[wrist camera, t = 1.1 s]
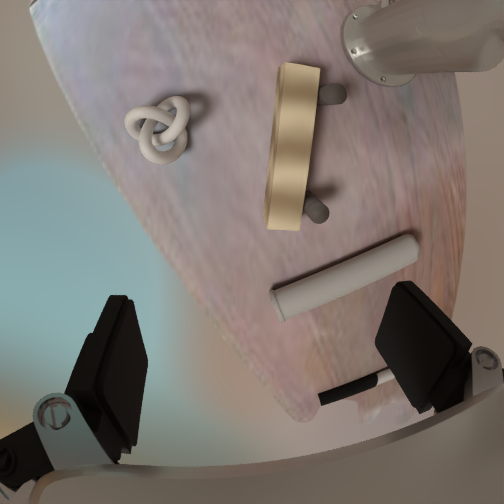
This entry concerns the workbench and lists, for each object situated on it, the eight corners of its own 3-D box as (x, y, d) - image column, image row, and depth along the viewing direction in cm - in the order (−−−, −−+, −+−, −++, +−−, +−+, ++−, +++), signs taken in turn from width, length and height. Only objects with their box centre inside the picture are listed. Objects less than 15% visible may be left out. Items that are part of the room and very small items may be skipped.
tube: (421, 230, 38) (269, 296, 40) (429, 262, 39) (283, 328, 41) (405, 227, 43) (267, 285, 45) (412, 256, 44) (279, 315, 46)
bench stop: (278, 67, 30) (289, 58, 25) (329, 76, 31) (349, 71, 25) (262, 217, 39) (270, 235, 33) (310, 220, 40) (324, 238, 34)
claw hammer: (327, 424, 60) (433, 381, 58) (313, 380, 50) (447, 325, 48) (322, 407, 65) (425, 366, 63) (307, 359, 55) (434, 309, 53)
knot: (206, 147, 34) (204, 153, 29) (147, 169, 34) (135, 179, 29) (187, 91, 30) (181, 87, 25) (127, 116, 30) (112, 117, 25)
